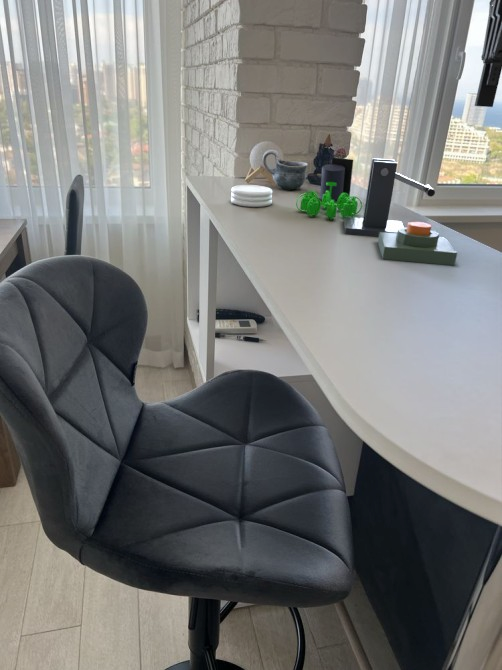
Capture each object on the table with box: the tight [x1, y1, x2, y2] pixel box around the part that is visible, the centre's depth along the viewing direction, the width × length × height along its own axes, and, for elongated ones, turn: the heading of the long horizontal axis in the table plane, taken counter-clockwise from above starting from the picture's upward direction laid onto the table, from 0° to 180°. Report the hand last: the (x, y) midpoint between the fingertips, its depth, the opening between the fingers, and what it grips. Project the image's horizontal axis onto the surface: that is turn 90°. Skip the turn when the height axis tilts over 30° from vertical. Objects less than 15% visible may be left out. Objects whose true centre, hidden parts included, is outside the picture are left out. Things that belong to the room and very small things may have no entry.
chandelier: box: [295, 182, 363, 221], centre depth 115 cm, size 15×15×7 cm
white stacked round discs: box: [230, 184, 273, 208], centre depth 122 cm, size 10×10×4 cm
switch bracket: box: [343, 157, 405, 238], centre depth 102 cm, size 12×10×14 cm
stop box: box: [377, 226, 458, 266], centre depth 90 cm, size 12×10×4 cm
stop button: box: [406, 221, 432, 236], centre depth 89 cm, size 4×4×2 cm
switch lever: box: [395, 172, 436, 198], centre depth 100 cm, size 12×5×2 cm, turn 82°
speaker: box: [319, 157, 354, 203], centre depth 129 cm, size 8×6×10 cm
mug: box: [261, 149, 309, 190], centre depth 140 cm, size 10×12×10 cm
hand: (483, 106), depth 89 cm, fingers closed
